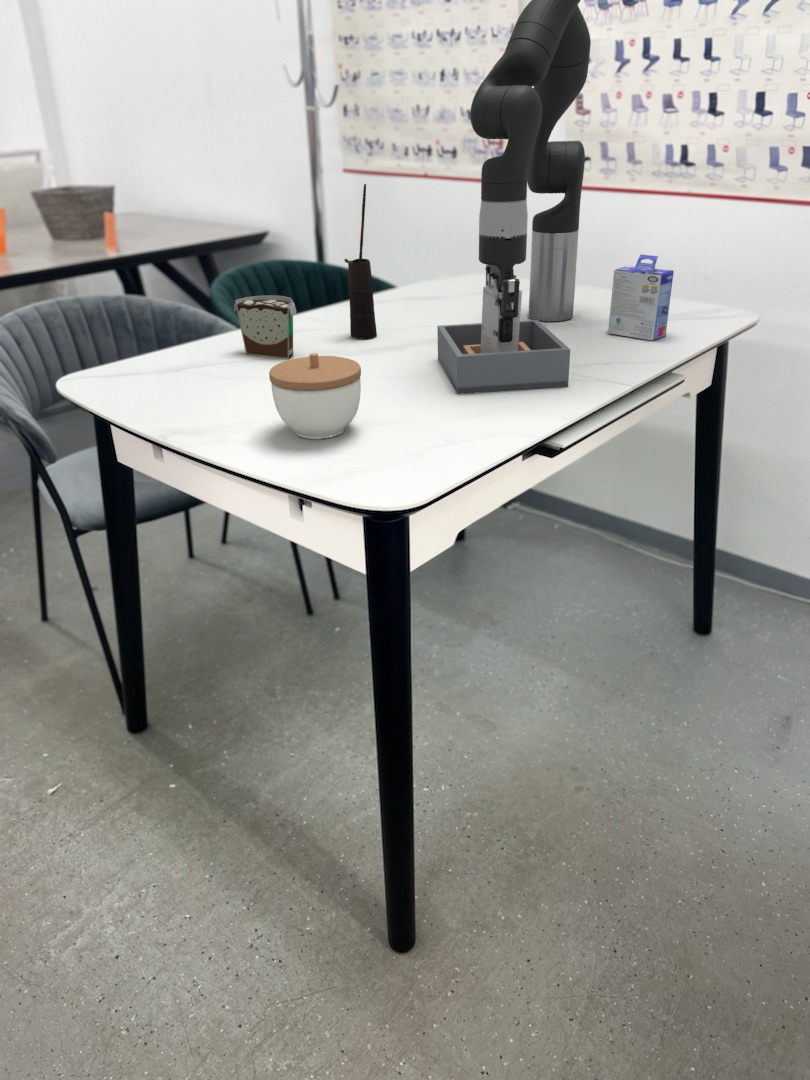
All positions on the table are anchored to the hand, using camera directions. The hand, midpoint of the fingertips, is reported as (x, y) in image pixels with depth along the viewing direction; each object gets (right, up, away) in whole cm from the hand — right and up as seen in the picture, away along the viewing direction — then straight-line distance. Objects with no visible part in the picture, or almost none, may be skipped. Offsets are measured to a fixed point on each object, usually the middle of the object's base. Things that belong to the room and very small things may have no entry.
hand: (500, 335), depth 137 cm
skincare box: (0, -4, +2) cm, 4 cm away
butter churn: (-25, +6, +26) cm, 37 cm away
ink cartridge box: (+29, +5, +22) cm, 36 cm away
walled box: (0, -5, +3) cm, 6 cm away
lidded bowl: (-28, -18, -19) cm, 39 cm away
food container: (-40, +1, +18) cm, 44 cm away
